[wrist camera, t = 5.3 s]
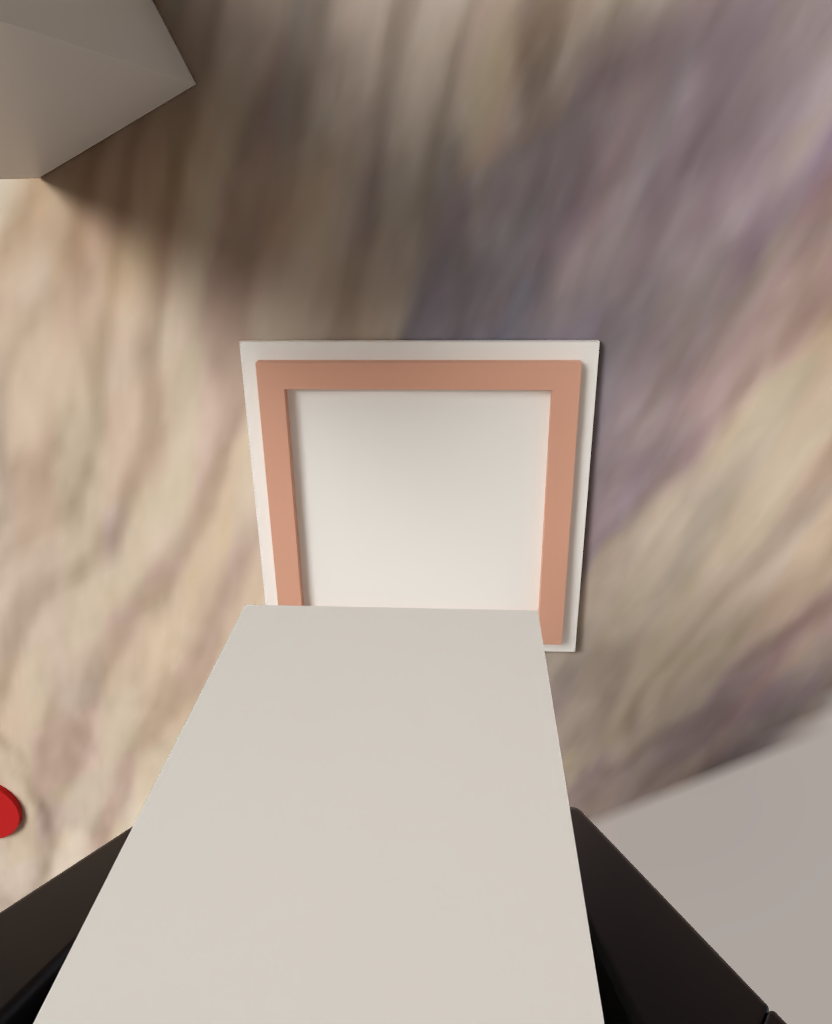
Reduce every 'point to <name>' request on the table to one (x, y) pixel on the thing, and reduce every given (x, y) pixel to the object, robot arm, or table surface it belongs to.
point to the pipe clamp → (9, 812)
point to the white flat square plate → (423, 473)
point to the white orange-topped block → (350, 838)
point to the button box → (78, 76)
